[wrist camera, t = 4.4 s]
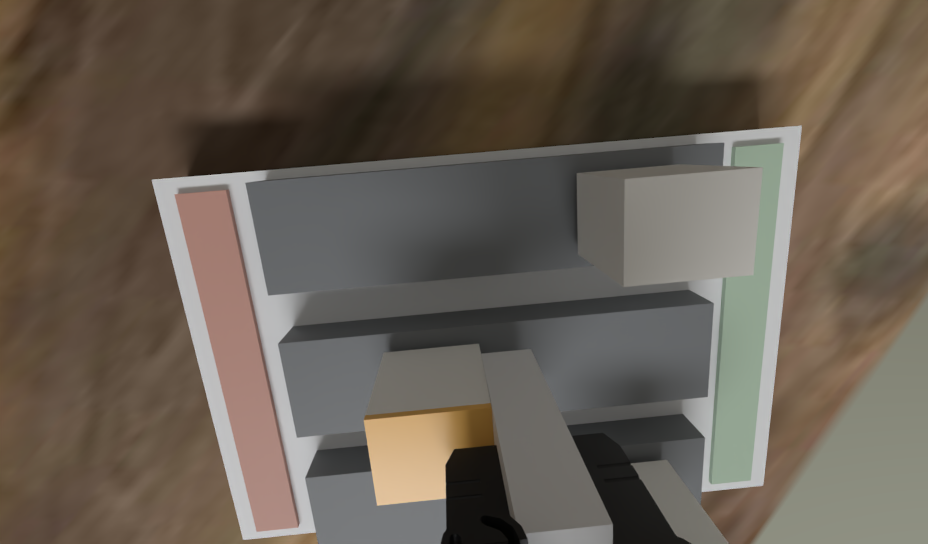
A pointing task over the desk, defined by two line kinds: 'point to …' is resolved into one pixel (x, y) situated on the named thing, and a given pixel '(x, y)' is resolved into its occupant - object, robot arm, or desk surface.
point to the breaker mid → (425, 419)
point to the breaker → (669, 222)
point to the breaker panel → (463, 317)
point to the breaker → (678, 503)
